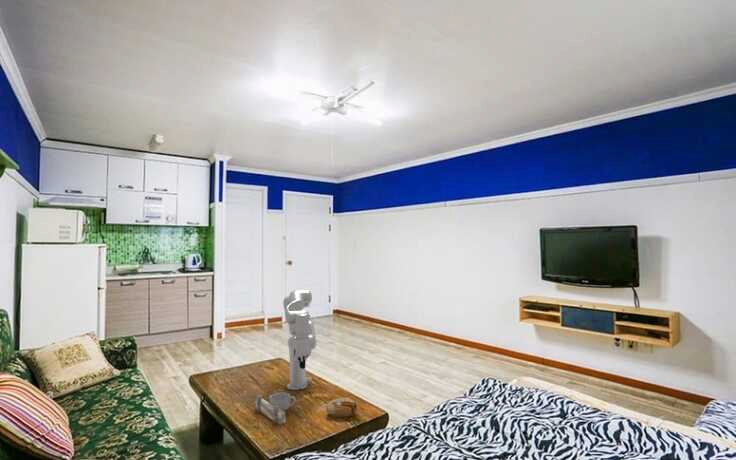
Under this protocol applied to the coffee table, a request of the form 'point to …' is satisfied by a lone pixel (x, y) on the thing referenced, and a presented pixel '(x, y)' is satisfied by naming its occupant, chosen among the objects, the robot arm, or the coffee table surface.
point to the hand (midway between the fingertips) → (302, 367)
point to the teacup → (282, 400)
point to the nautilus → (342, 407)
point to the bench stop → (270, 410)
